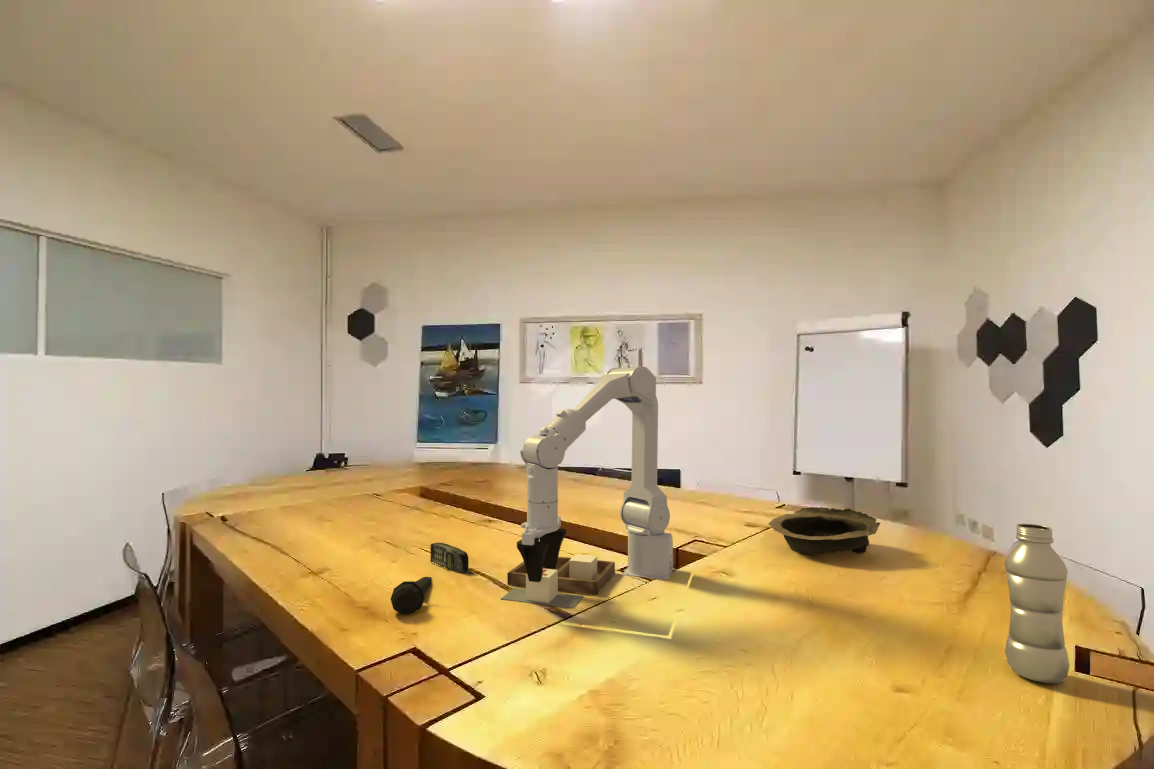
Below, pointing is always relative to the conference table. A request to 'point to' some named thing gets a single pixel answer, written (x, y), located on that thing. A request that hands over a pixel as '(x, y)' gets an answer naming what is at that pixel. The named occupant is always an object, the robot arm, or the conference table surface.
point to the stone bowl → (826, 530)
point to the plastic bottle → (1036, 607)
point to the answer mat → (558, 601)
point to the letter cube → (543, 587)
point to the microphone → (410, 595)
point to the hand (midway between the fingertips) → (542, 574)
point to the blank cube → (583, 567)
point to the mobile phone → (450, 557)
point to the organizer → (564, 582)
